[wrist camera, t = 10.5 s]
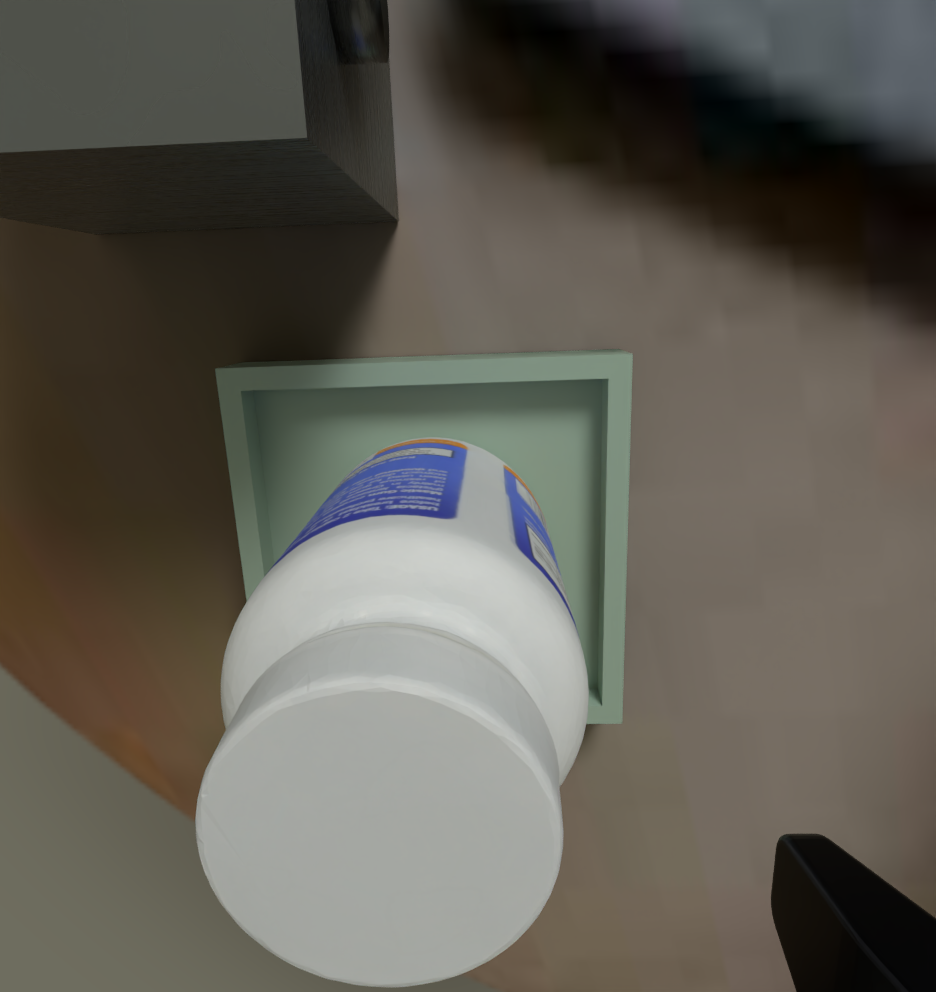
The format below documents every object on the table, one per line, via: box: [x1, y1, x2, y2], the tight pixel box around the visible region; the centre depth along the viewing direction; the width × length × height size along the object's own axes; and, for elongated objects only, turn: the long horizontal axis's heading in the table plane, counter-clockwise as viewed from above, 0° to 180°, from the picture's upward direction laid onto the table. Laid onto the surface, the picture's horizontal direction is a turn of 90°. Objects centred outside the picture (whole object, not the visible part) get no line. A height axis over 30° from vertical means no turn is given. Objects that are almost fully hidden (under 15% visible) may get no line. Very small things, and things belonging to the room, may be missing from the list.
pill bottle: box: [195, 437, 589, 987], centre depth 12 cm, size 5×5×10 cm
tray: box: [215, 349, 633, 724], centre depth 17 cm, size 9×9×2 cm
